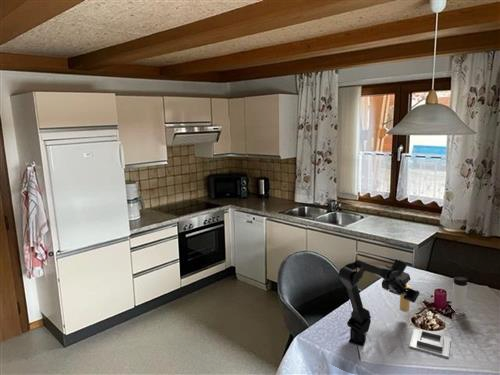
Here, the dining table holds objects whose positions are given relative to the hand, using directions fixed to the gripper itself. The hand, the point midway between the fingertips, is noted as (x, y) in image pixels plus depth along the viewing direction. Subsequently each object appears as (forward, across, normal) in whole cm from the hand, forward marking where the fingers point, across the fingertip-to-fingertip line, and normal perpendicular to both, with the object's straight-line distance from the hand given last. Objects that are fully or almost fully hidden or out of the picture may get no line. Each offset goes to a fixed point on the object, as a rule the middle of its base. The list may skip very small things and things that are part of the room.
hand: (406, 296), depth 190 cm
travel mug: (+28, -12, -11) cm, 32 cm away
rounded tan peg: (+4, 0, +6) cm, 7 cm away
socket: (+2, -20, +15) cm, 25 cm away
